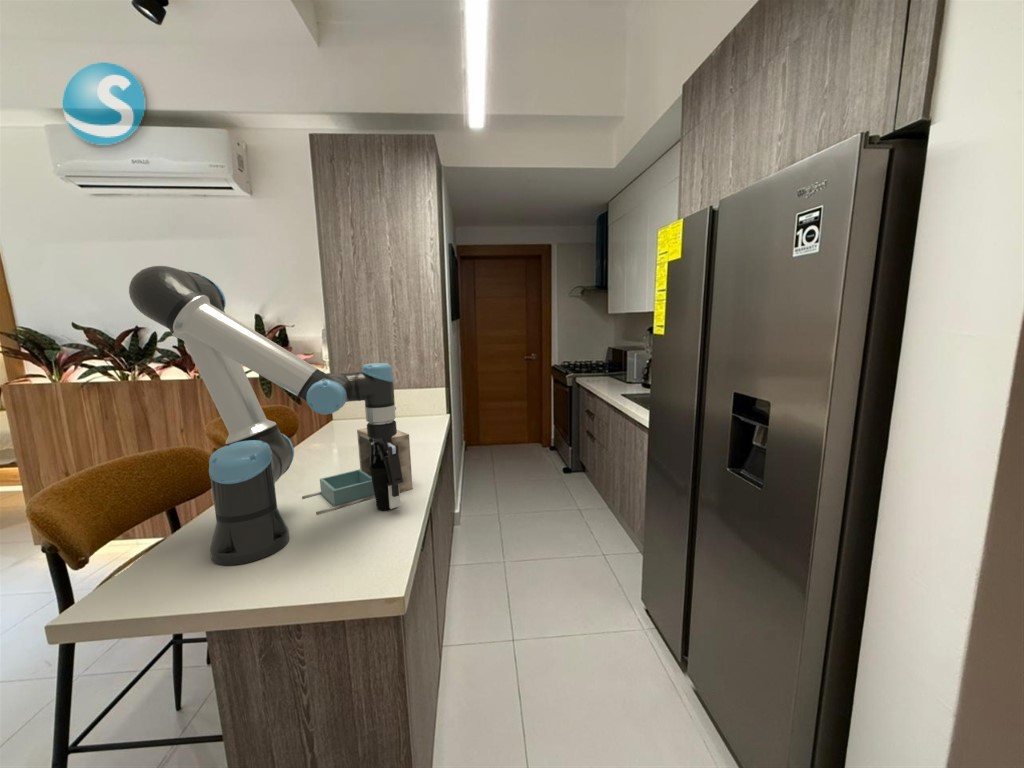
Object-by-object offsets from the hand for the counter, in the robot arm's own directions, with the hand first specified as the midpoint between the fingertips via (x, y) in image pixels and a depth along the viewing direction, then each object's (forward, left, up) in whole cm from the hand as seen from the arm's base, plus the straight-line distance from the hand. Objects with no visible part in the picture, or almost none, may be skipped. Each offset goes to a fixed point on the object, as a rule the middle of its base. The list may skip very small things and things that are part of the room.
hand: (387, 501), depth 114 cm
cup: (0, 0, -2) cm, 2 cm away
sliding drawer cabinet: (-3, +16, -1) cm, 16 cm away
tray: (-5, +16, -1) cm, 17 cm away
